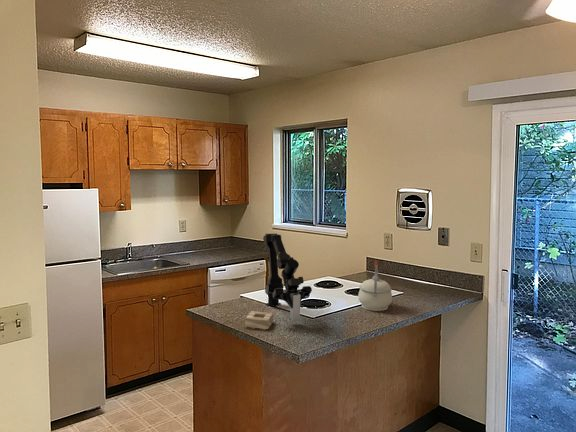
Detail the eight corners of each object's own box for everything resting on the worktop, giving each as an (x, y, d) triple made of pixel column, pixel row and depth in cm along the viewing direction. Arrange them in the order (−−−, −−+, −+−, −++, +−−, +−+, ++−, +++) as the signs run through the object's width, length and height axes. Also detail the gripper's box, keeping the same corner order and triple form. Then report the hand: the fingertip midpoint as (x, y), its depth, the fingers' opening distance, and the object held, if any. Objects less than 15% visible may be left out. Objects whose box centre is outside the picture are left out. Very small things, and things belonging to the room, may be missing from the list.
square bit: (290, 319, 227) (290, 293, 225) (297, 318, 228) (297, 292, 226) (292, 321, 223) (293, 295, 222) (299, 321, 225) (300, 294, 223)
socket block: (251, 320, 231) (251, 311, 230) (272, 322, 229) (273, 313, 228) (245, 327, 220) (245, 318, 220) (267, 329, 218) (268, 320, 218)
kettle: (392, 314, 245) (394, 267, 242) (356, 311, 249) (358, 265, 246) (391, 301, 269) (393, 258, 267) (359, 298, 273) (360, 256, 270)
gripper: (274, 272, 224) (281, 301, 215) (311, 269, 230) (319, 298, 221) (269, 284, 232) (276, 312, 223) (304, 281, 238) (312, 309, 229)
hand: (296, 307), depth 224 cm, fingers closed on square bit, 4 cm apart
